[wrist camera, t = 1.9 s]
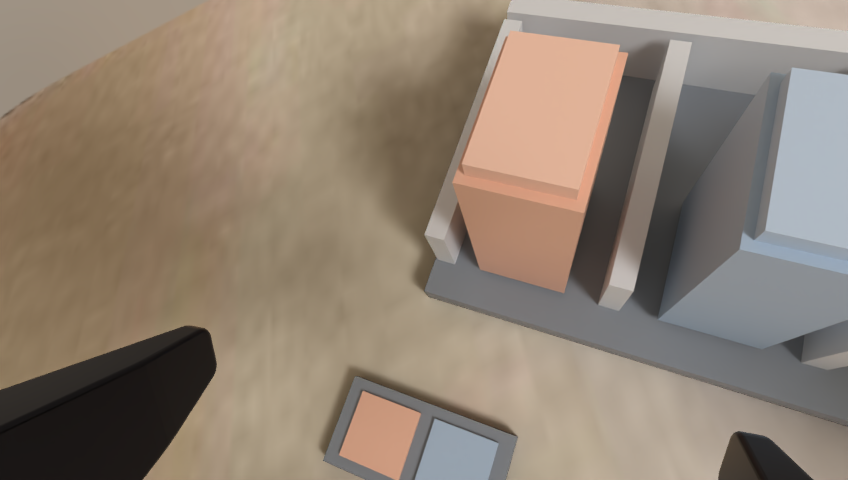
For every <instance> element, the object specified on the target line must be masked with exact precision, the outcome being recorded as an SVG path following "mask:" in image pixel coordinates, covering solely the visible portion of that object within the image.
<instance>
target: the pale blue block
mask: <svg viewBox="0 0 848 480" xmlns="http://www.w3.org/2000/svg"><path fill="white" fill-rule="evenodd" d="M658 320H660V321H663V322H667V323H671V324H674V325H678V326H681V327H685V328H688V329H692V330H695V331H699V332H702V333H706V334H709V335H713V336H717V337H720V338H724V339H727V340H731V341H734V342H738V343H741V344H745V345H748V346H752V347H755V348H759V349H764V348H767V347H770V346H773V345H776V344H779V343H781V342H784V341H787V340H790V339H793V338H796V337H799V336H802V335H805V334H808V333H811V332H814V331H816V330H819V329H822V328H825V327H828V326H831V325H834V324H837V323H840V322H843V321H846V320H848V75H845V74H838V73H830V72H822V71H815V70H807V69H800V68H791V69H790V71H789V72H788V73H787V74H781V73H773V72H771V73H770V74H769V76H768V77H767V79H766V80H765V82H764V83H763V85H762V86H761V88H760V89H759V91H758V92H757V94H756V95H755V97H754V98H753V100H752V101H751V102H750V104H749V105H748V107H747V108H746V110H745V111H744V113H743V114H742V116H741V117H740V119H739V120H738V122H737V123H736V125H735V126H734V128H733V129H732V131H731V132H730V134H729V135H728V137H727V138H726V140H725V141H724V143H723V144H722V145H721V147H720V148H719V150H718V151H717V153H716V154H715V156H714V157H713V159H712V160H711V162H710V163H709V165H708V166H707V168H706V169H705V171H704V172H703V174H702V175H701V177H700V178H699V180H698V181H697V183H696V184H695V185H694V187H693V188H692V190H691V191H690V193H689V194H688V196H687V197H686V199H685V200H684V202H683V205H682V209H681V214H680V218H679V223H678V228H677V232H676V237H675V241H674V246H673V251H672V255H671V260H670V264H669V269H668V274H667V278H666V283H665V287H664V292H663V297H662V301H661V306H660V310H659V315H658Z"/></svg>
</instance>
